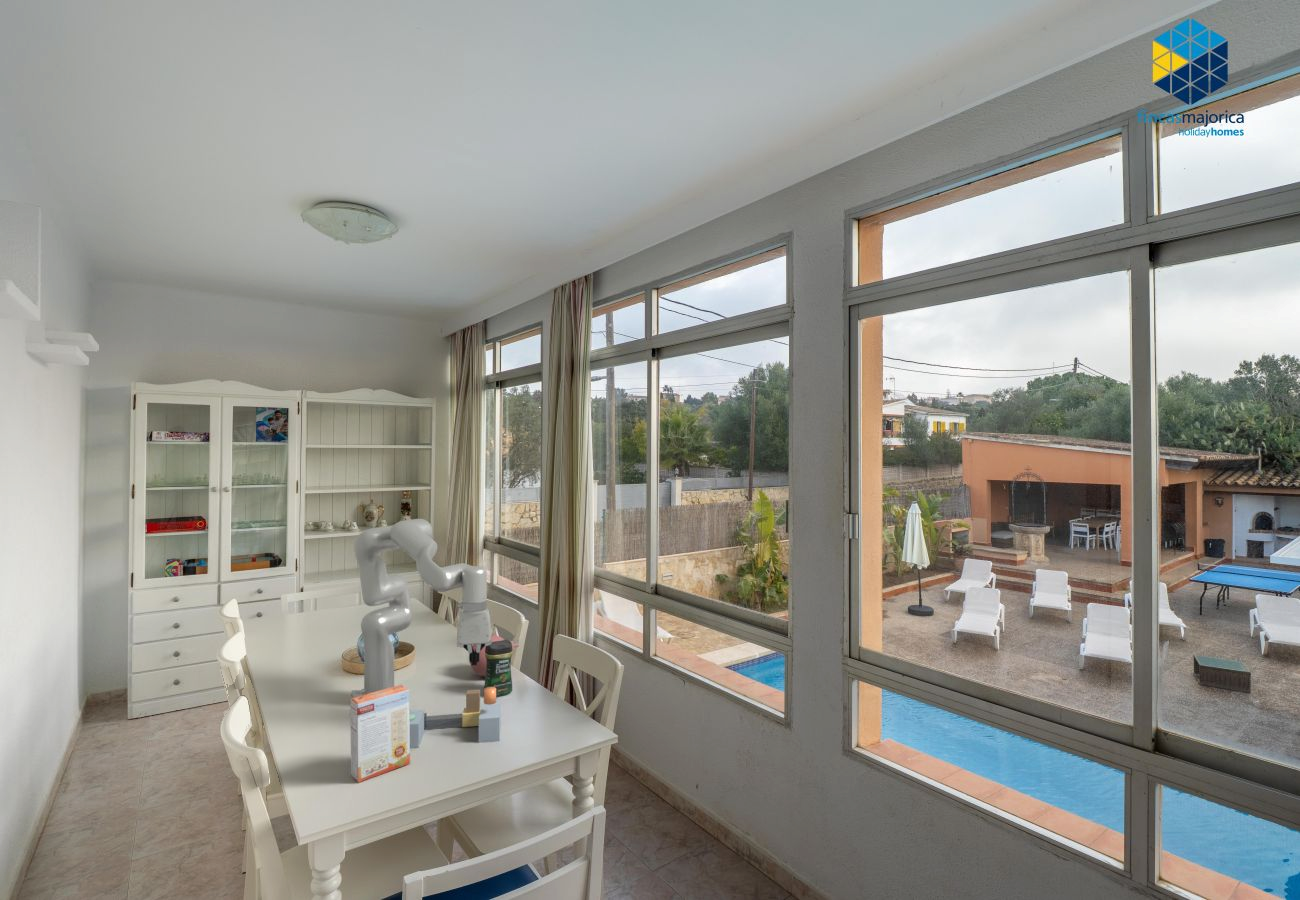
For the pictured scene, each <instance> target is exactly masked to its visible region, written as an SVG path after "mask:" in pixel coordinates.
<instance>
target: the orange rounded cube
mask: <svg viewBox="0 0 1300 900" xmlns="http://www.w3.org/2000/svg"><path fill="white" fill-rule="evenodd" d="M493 704H497V697H496V688H495V687H487V688H485V689H484V688H483V705H493Z"/></svg>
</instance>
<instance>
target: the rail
mask: <svg viewBox="0 0 1300 900" xmlns="http://www.w3.org/2000/svg"><path fill="white" fill-rule="evenodd" d="M427 713H428V712H424V731H428V730H429V731H430V730H441V729H442V730H443V729H455V728H463V727H462V715H463V713H451V714H439V715H427ZM468 727H469V728H470V726H468ZM468 727H467V728H468Z"/></svg>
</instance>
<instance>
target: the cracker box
mask: <svg viewBox="0 0 1300 900" xmlns="http://www.w3.org/2000/svg"><path fill="white" fill-rule="evenodd" d="M349 700H350V701H349V702H350V705H349V706H350V708H349V709H350V711H349V713H350V714H349V715H350V720H349V721H350V774H351V776H352V778H353V779H355V781H356V782H357V783H362V782H364V781H366V780H369V779H371V778H375V777H377V776H379V775H383V774H385V773H389V772H391V771H393V770H396V769H399V768H402V767H404V766H407V765H409V764H410V763H411V757H410V756H411V755H410V754H411V752H410V749H411V748H410V719H409V711H410V689H409V688H407V687H406V686H404V685H402V684H398V685H394V687H390V688H387V689H383V690H380V691H376V692H372V693H369V694H365V695H361V696H358V697H354V698H353V697H351V698H350V699H349Z"/></svg>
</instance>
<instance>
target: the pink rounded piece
mask: <svg viewBox="0 0 1300 900" xmlns="http://www.w3.org/2000/svg"><path fill="white" fill-rule="evenodd" d="M491 640H492V642H495V641H502V640H505V639H504V638H503V637H501V636H499V635H496V634H491ZM509 641H510V642H511V643H512V650H513V652H515V650H516V648H518V647H519V646H520V644H519V643H517V642H516V643H515V642H513V641H512V640H509ZM472 646H473V649H474V651H475V649H476V648H477V644H472ZM485 647H486V646H485ZM485 647H484V648H483V649H482V650H481V651H480V652H479V662H477V666H475V665H473V666H471V662H469V664H470V665H469V666H470V667H471V669H472V671H474V673H476V674H477V675H479V676H481V677H485V676H486V666H487V660H486V657H485Z"/></svg>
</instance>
